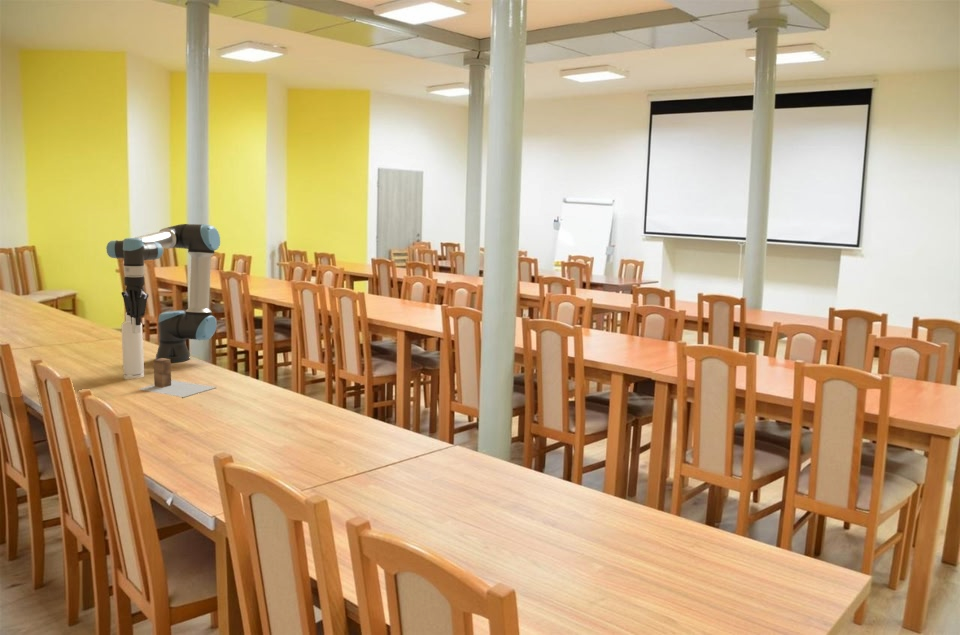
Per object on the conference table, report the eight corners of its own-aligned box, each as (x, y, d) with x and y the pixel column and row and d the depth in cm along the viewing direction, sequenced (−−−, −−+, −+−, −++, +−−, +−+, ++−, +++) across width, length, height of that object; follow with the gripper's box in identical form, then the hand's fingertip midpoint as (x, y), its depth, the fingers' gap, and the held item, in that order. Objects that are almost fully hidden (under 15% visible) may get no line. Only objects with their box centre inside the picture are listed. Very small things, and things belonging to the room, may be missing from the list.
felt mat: (172, 380, 320) (172, 380, 320) (216, 388, 310) (216, 387, 310) (137, 390, 304) (137, 389, 303) (182, 398, 294) (182, 397, 294)
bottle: (138, 379, 320) (136, 314, 316) (120, 379, 320) (117, 314, 316) (147, 375, 328) (145, 311, 324) (129, 374, 328) (126, 311, 324)
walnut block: (163, 383, 313) (162, 357, 311) (171, 385, 311) (170, 359, 309) (154, 386, 309) (153, 359, 307) (162, 387, 307) (161, 361, 305)
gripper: (115, 275, 308) (117, 332, 311) (138, 277, 303) (140, 335, 306) (130, 274, 315) (132, 330, 318) (153, 276, 309) (155, 333, 313)
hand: (136, 332), depth 312 cm, fingers closed
